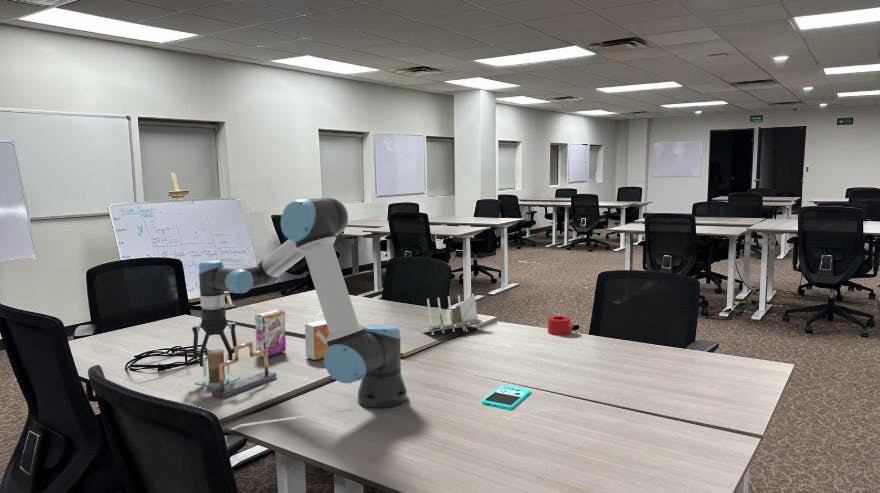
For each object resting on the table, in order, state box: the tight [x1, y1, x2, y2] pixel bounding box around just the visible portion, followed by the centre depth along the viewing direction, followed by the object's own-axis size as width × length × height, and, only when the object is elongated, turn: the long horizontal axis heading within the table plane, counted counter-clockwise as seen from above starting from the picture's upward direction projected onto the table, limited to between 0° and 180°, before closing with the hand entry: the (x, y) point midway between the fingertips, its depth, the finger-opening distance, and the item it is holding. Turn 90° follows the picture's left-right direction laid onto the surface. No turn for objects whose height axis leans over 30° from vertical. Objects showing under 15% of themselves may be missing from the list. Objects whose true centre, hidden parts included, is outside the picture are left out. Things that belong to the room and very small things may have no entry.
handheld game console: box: [481, 385, 531, 410], centre depth 181 cm, size 10×16×1 cm, turn 150°
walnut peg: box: [207, 349, 226, 383], centre depth 198 cm, size 5×5×10 cm
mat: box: [194, 374, 240, 389], centre depth 198 cm, size 10×10×1 cm
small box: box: [304, 319, 329, 361], centre depth 224 cm, size 8×6×13 cm
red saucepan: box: [547, 315, 574, 336], centre depth 258 cm, size 18×9×7 cm, turn 145°
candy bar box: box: [254, 309, 287, 359], centre depth 228 cm, size 11×5×16 cm, turn 149°
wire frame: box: [211, 341, 277, 400], centre depth 192 cm, size 5×22×15 cm, turn 148°
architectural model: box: [421, 293, 483, 336], centre depth 258 cm, size 17×25×18 cm
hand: (216, 373), depth 198 cm, fingers open, 7 cm apart
